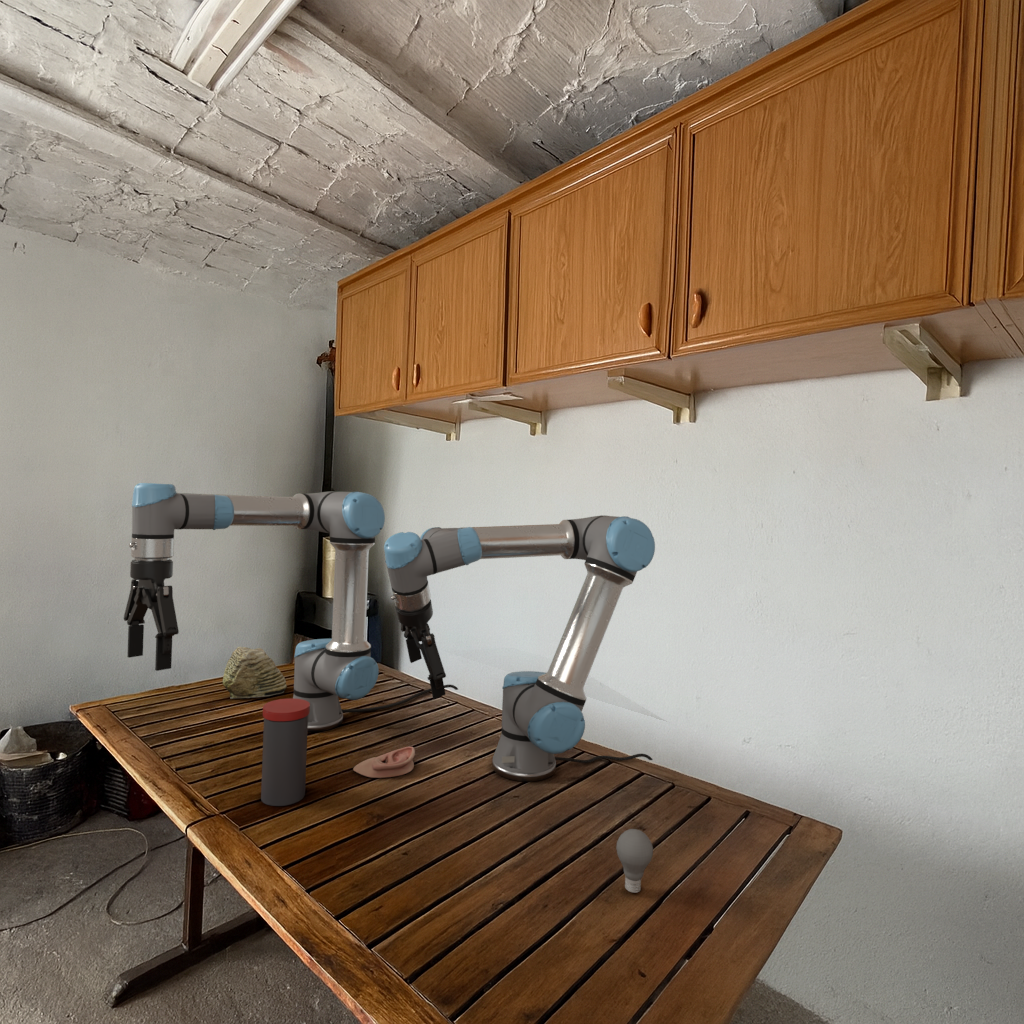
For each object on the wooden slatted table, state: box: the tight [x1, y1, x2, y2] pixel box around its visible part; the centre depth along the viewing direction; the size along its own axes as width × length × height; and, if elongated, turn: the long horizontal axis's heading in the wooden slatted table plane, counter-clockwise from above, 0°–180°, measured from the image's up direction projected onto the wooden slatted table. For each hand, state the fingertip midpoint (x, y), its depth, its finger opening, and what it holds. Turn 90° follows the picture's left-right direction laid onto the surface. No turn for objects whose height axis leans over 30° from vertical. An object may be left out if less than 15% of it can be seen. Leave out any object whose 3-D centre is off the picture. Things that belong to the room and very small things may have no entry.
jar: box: [260, 715, 308, 807], centre depth 133 cm, size 9×9×19 cm
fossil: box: [222, 646, 288, 699], centre depth 198 cm, size 9×18×15 cm, turn 132°
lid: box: [262, 697, 310, 721], centre depth 133 cm, size 9×9×2 cm
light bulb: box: [615, 828, 654, 894], centre depth 106 cm, size 6×6×10 cm
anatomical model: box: [352, 746, 416, 779], centre depth 149 cm, size 13×4×12 cm
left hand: (148, 662), depth 129 cm, fingers open, 13 cm apart
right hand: (427, 677), depth 143 cm, fingers open, 13 cm apart
